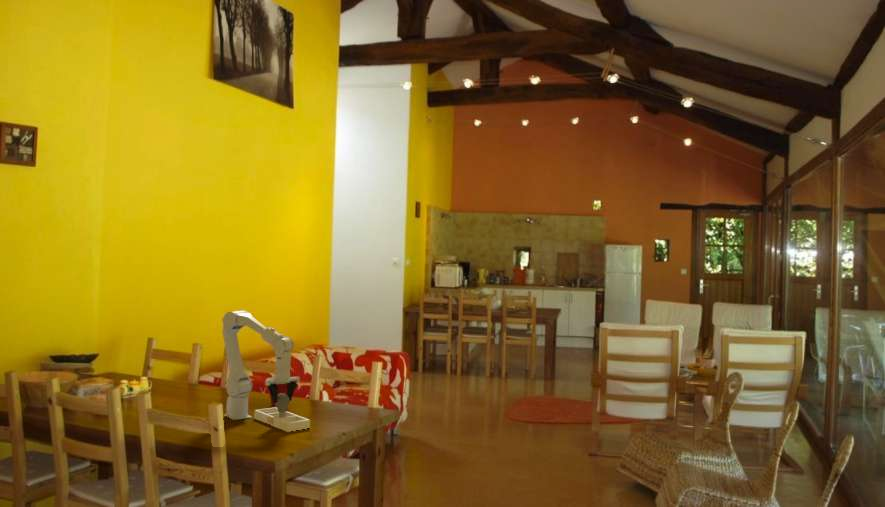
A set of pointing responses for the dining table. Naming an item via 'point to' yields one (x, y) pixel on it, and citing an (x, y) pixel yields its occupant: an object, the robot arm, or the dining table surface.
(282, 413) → the light bulb
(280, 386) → the plastic cup
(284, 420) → the rack
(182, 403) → the dining table surface
